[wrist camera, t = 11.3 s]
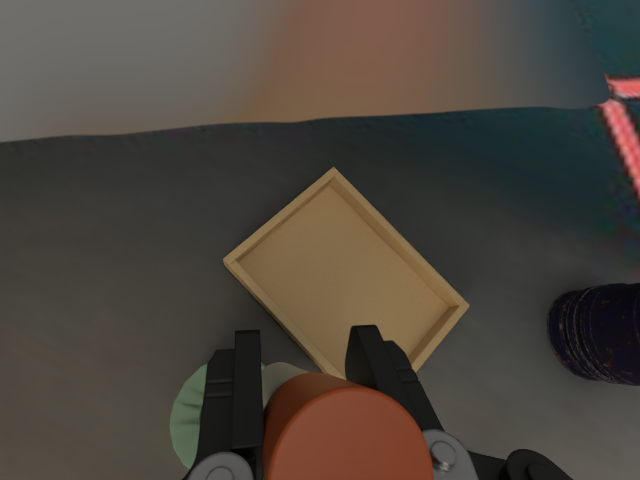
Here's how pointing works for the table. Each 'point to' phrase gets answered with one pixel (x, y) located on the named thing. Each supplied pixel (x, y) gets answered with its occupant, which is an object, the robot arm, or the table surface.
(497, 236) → the table surface
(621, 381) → the dark blue cylinder
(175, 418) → the green cylindrical pot
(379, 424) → the marker
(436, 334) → the tray
